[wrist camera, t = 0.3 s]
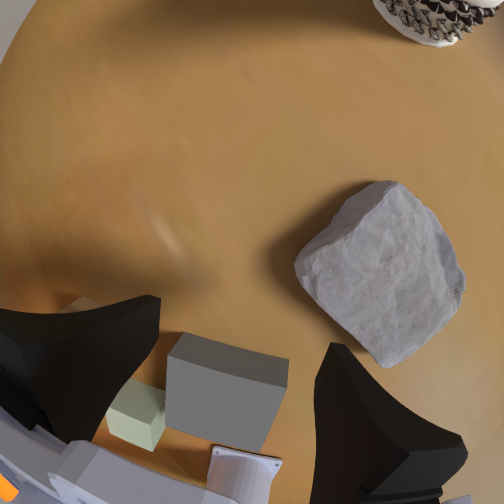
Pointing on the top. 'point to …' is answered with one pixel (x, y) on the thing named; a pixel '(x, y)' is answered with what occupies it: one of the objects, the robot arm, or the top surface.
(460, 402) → the top surface
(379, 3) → the decorative candle
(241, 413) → the charcoal block
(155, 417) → the sage block
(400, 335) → the stone block
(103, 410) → the robot arm
